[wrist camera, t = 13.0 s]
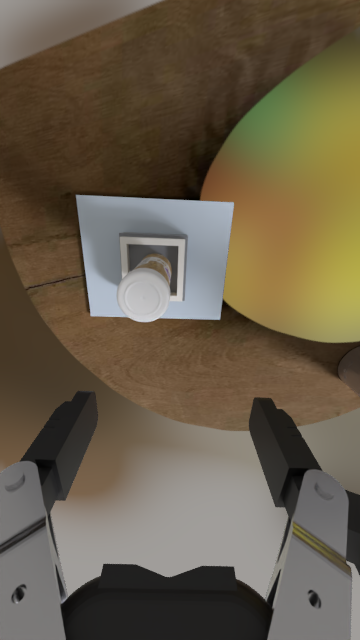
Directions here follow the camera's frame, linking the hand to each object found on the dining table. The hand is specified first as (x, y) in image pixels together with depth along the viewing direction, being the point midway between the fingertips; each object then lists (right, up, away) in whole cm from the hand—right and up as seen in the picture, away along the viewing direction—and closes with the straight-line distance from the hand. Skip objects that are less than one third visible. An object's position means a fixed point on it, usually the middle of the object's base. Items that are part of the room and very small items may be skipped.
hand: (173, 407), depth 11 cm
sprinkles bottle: (-3, +11, +20) cm, 23 cm away
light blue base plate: (-3, +13, +24) cm, 28 cm away
